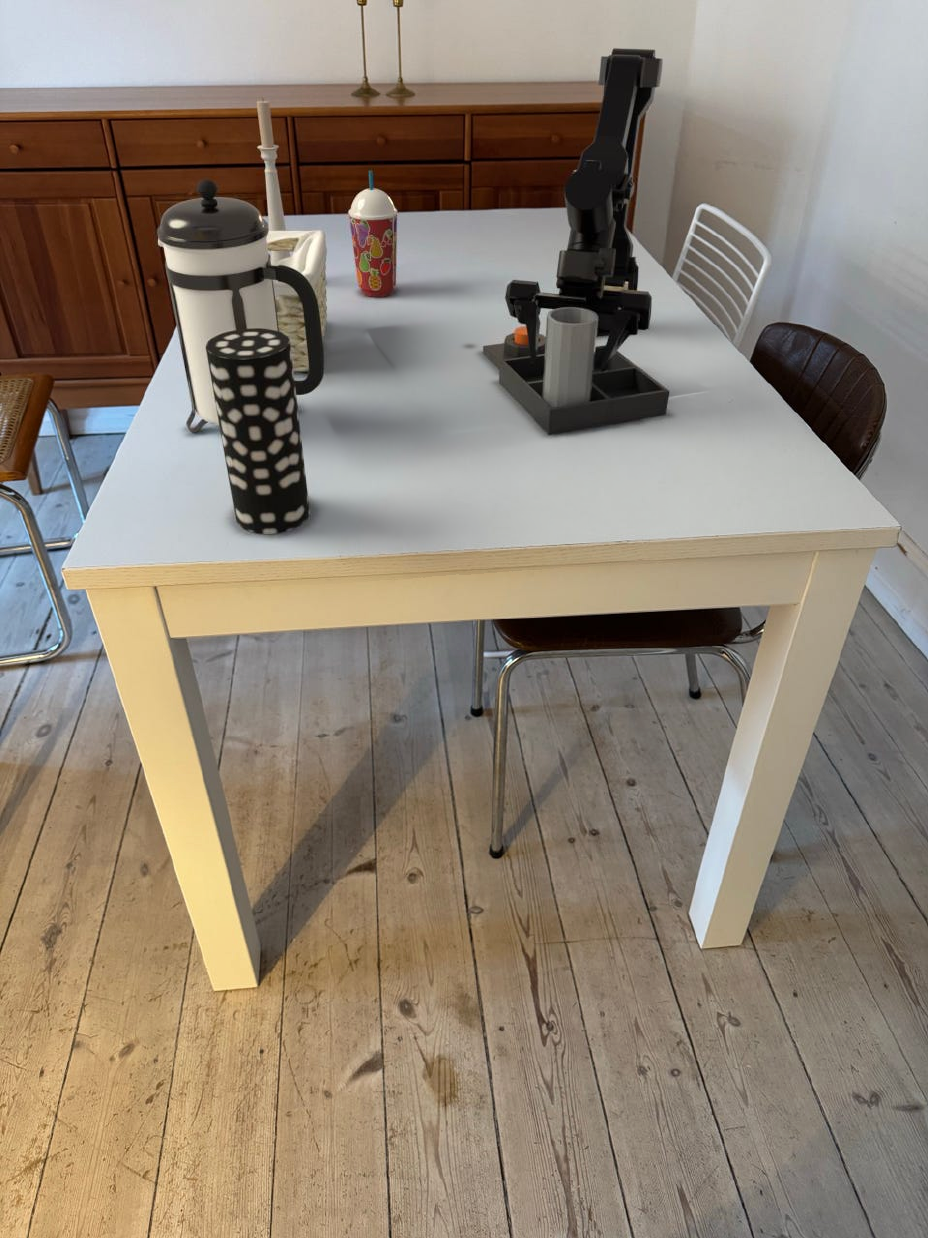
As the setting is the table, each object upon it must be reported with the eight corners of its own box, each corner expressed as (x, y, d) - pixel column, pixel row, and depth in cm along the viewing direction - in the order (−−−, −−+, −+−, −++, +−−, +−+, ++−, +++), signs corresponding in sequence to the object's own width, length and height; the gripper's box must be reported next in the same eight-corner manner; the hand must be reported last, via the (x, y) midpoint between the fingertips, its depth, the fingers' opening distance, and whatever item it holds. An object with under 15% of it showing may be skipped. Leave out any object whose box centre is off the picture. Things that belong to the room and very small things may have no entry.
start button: (532, 335, 140) (533, 324, 139) (541, 344, 138) (542, 332, 137) (510, 338, 139) (511, 327, 138) (519, 347, 137) (520, 335, 136)
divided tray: (607, 367, 138) (609, 344, 135) (666, 414, 125) (669, 390, 122) (498, 383, 133) (499, 359, 131) (548, 434, 120) (549, 409, 118)
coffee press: (199, 458, 114) (149, 202, 96) (177, 407, 126) (129, 170, 108) (332, 433, 120) (309, 187, 101) (299, 387, 131) (274, 158, 113)
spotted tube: (240, 497, 107) (211, 329, 95) (311, 494, 107) (292, 327, 95) (231, 535, 100) (200, 360, 88) (308, 532, 101) (286, 357, 89)
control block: (547, 344, 145) (548, 326, 143) (569, 363, 139) (570, 344, 137) (482, 353, 142) (483, 334, 140) (501, 373, 136) (502, 353, 134)
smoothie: (407, 287, 166) (403, 167, 154) (390, 301, 160) (383, 178, 148) (365, 282, 169) (358, 163, 156) (346, 296, 162) (337, 174, 150)
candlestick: (241, 278, 170) (215, 94, 152) (308, 269, 174) (290, 90, 156) (257, 299, 161) (231, 106, 143) (327, 290, 165) (311, 101, 147)
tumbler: (559, 396, 127) (565, 303, 120) (598, 409, 124) (607, 314, 116) (532, 412, 124) (537, 316, 116) (572, 425, 120) (579, 328, 112)
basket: (239, 320, 153) (225, 227, 144) (336, 319, 153) (328, 227, 144) (211, 378, 134) (192, 276, 125) (322, 377, 134) (311, 275, 125)
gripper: (510, 214, 114) (487, 331, 113) (660, 225, 111) (639, 347, 109) (521, 260, 125) (500, 368, 124) (658, 272, 121) (639, 383, 120)
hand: (567, 366), depth 119 cm, fingers open, 9 cm apart
